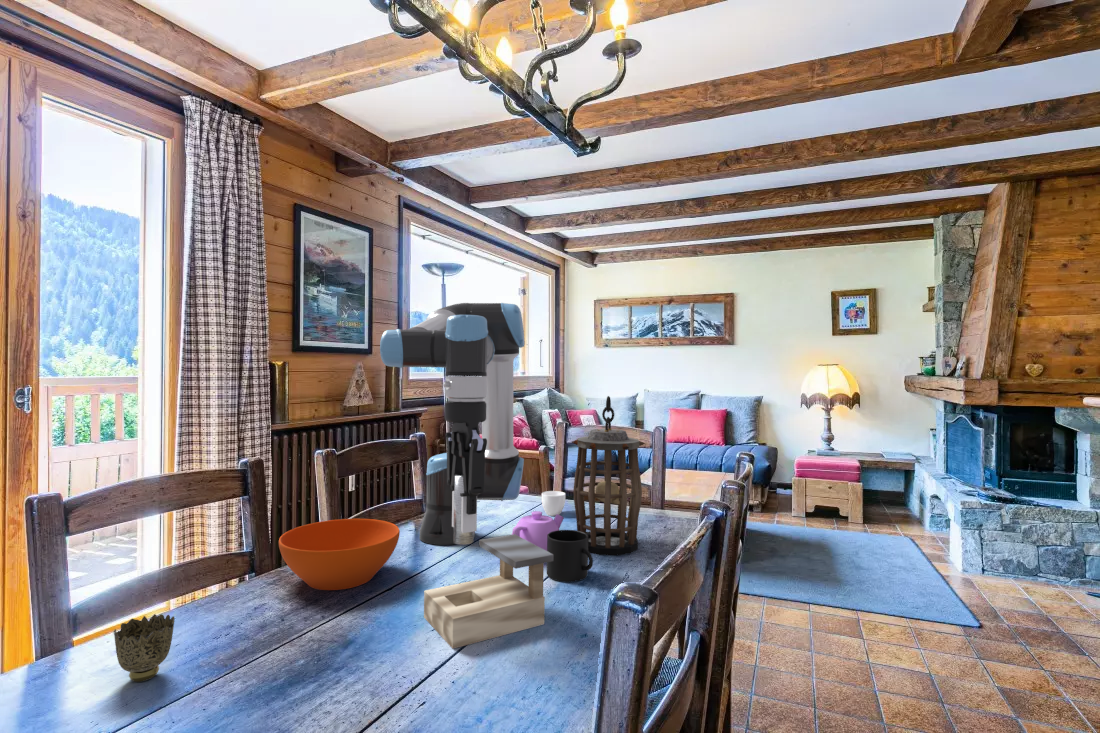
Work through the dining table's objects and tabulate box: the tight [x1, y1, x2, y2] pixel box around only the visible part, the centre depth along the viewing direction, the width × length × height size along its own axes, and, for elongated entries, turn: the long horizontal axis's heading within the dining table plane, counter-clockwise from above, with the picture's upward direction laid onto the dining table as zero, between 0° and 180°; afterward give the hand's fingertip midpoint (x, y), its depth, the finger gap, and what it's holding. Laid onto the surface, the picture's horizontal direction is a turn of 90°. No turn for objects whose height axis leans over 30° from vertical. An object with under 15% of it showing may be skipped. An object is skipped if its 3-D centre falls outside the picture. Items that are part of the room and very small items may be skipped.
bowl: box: [278, 518, 401, 591], centre depth 126 cm, size 25×25×10 cm
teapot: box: [511, 510, 564, 551], centre depth 145 cm, size 14×20×11 cm
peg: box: [454, 474, 475, 546], centre depth 104 cm, size 4×4×12 cm
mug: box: [546, 529, 594, 583], centre depth 129 cm, size 9×12×9 cm
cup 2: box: [113, 613, 175, 683], centre depth 85 cm, size 8×7×8 cm
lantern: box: [571, 395, 646, 557], centre depth 152 cm, size 19×19×40 cm
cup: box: [541, 490, 566, 517], centre depth 185 cm, size 8×10×7 cm
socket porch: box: [423, 533, 554, 650], centre depth 106 cm, size 15×20×13 cm
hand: (464, 528), depth 104 cm, fingers closed on peg, 3 cm apart
